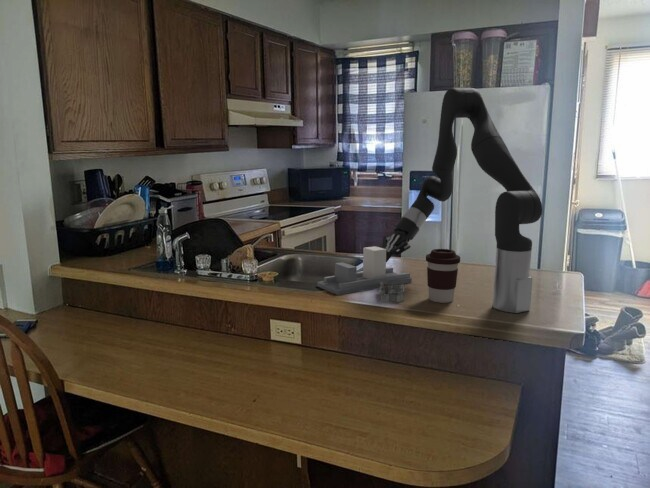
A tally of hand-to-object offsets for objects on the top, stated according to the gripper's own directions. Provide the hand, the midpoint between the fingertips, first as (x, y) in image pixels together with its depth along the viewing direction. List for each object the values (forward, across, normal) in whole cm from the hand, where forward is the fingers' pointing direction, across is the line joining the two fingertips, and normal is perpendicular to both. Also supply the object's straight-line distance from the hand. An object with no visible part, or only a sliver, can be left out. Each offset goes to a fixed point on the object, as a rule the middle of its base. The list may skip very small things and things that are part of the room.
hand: (381, 262), depth 172 cm
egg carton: (+11, +16, -1) cm, 20 cm away
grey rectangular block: (+14, 0, -6) cm, 15 cm away
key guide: (+10, 0, 0) cm, 10 cm away
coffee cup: (+3, +26, +7) cm, 27 cm away
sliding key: (+6, 0, +1) cm, 6 cm away
